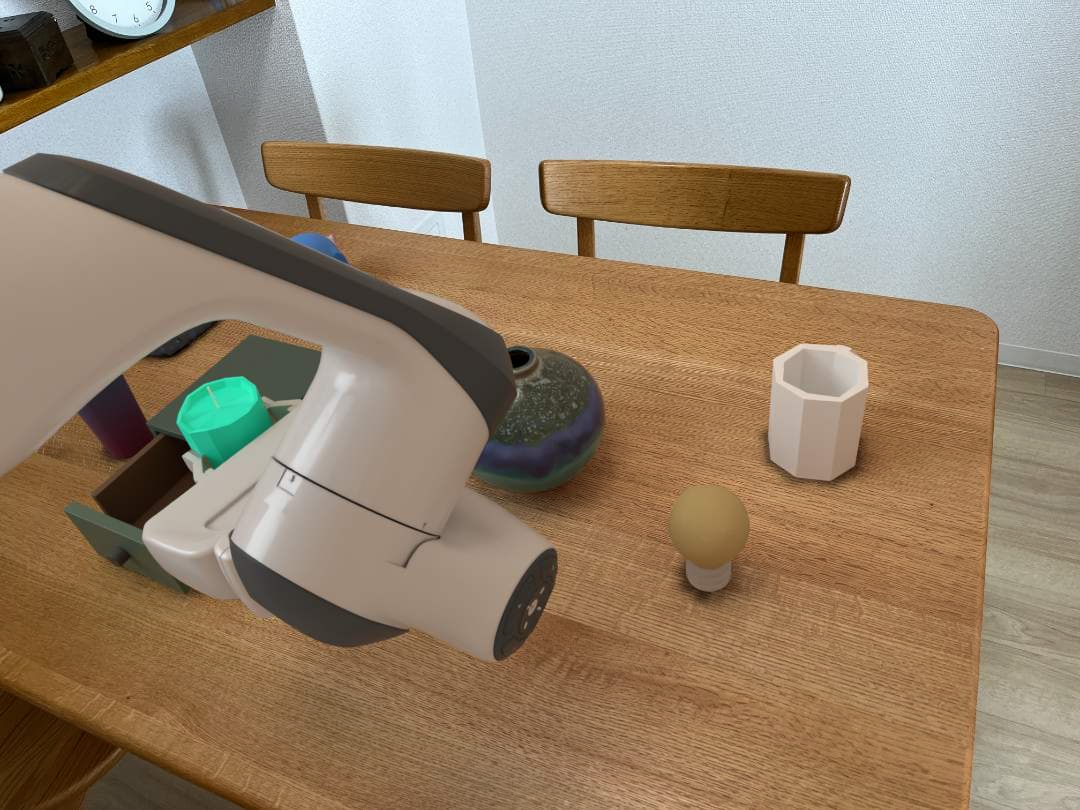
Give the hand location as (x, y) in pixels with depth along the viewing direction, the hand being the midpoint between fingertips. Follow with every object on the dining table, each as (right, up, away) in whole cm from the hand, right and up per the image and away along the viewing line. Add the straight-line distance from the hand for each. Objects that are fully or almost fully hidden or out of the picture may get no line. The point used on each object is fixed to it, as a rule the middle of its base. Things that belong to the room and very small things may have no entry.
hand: (226, 432), depth 61 cm
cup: (-23, -2, +32) cm, 40 cm away
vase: (+23, -4, +21) cm, 32 cm away
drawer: (-11, -10, +20) cm, 25 cm away
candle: (+2, -6, +4) cm, 7 cm away
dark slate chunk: (-27, +16, +54) cm, 62 cm away
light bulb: (+38, -13, +8) cm, 41 cm away
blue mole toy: (-7, +19, +53) cm, 57 cm away
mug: (+51, -1, +18) cm, 54 cm away
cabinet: (-5, -3, +28) cm, 29 cm away
